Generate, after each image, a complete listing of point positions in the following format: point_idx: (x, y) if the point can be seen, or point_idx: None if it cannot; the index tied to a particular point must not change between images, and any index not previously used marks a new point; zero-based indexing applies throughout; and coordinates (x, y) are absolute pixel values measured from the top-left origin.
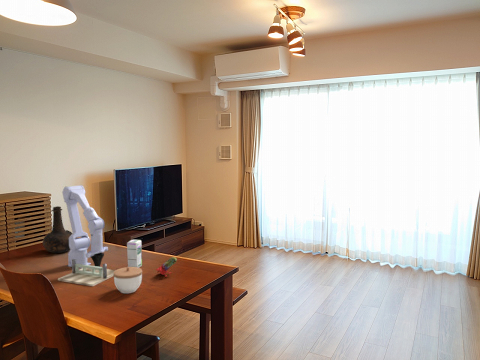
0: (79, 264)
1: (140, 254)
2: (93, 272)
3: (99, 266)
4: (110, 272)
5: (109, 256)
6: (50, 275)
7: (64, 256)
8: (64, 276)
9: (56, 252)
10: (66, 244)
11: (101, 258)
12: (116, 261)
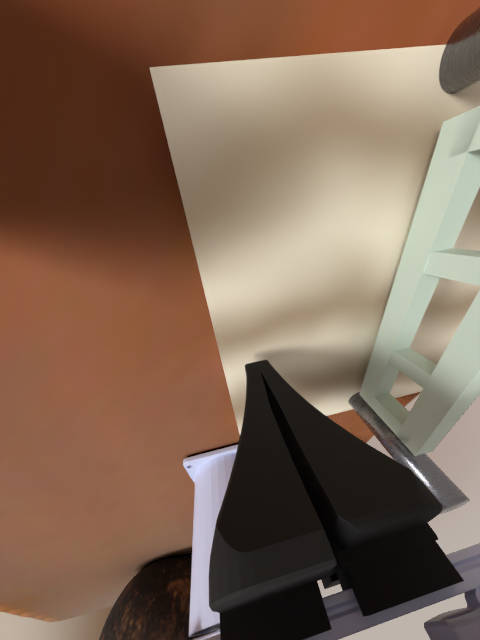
0: (442, 432)
1: None
2: (461, 251)
3: (255, 366)
4: (270, 175)
5: (14, 501)
6: (370, 436)
7: (191, 537)
8: (411, 389)
9: (191, 560)
10: (161, 615)
11: (264, 446)
12: (3, 422)
